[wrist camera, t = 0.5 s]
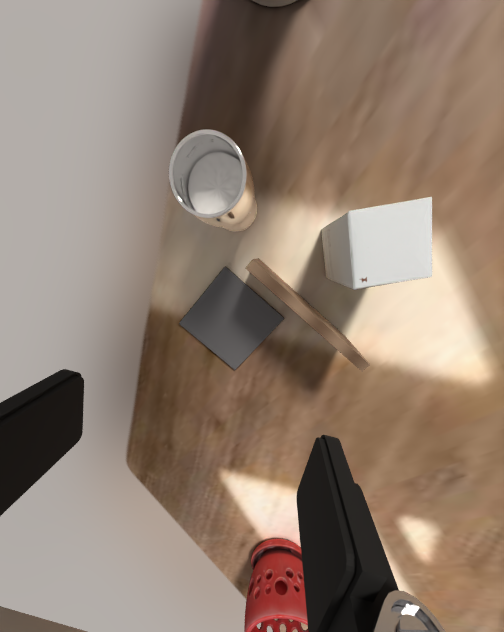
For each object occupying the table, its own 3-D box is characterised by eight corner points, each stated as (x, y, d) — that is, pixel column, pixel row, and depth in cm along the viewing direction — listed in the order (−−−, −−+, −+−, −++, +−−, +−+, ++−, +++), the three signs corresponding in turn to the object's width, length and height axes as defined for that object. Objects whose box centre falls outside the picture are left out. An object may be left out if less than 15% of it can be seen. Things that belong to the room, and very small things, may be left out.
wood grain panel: (253, 264, 36) (245, 268, 26) (258, 258, 35) (252, 259, 26) (339, 341, 37) (361, 371, 28) (345, 336, 37) (369, 364, 27)
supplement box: (377, 271, 34) (434, 280, 22) (325, 279, 35) (351, 291, 23) (375, 217, 33) (435, 194, 20) (320, 227, 33) (346, 210, 21)
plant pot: (265, 580, 52) (263, 673, 41) (240, 538, 50) (229, 623, 38) (322, 569, 50) (337, 664, 38) (298, 524, 47) (306, 611, 36)
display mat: (180, 322, 39) (178, 323, 39) (225, 266, 36) (224, 266, 36) (235, 368, 40) (235, 369, 40) (284, 317, 37) (284, 318, 37)
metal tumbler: (223, 242, 35) (188, 233, 21) (204, 195, 34) (151, 151, 19) (267, 223, 34) (262, 199, 19) (248, 173, 33) (228, 108, 18)
